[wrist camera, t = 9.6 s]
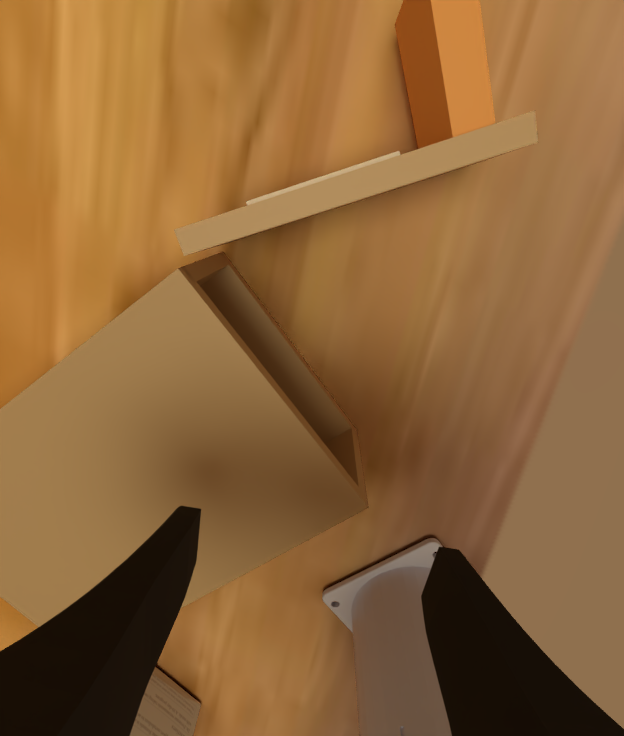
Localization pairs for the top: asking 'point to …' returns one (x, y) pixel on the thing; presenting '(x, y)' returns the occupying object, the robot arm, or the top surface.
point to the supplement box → (165, 709)
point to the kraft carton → (171, 445)
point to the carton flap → (430, 118)
